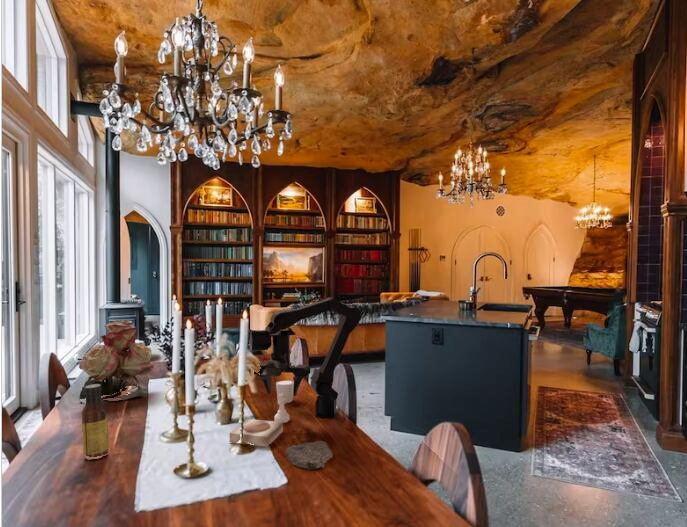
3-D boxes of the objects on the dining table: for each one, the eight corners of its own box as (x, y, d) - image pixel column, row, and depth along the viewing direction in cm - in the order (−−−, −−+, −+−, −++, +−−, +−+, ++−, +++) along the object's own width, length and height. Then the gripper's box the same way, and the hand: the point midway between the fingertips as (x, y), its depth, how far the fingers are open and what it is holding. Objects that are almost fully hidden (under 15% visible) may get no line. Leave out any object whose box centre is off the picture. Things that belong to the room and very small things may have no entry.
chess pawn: (271, 420, 155) (271, 393, 155) (285, 416, 158) (284, 390, 158) (278, 424, 151) (278, 397, 151) (292, 421, 154) (291, 394, 154)
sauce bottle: (114, 453, 130) (112, 383, 129) (95, 463, 124) (94, 389, 123) (96, 450, 132) (94, 381, 131) (77, 459, 126) (75, 387, 126)
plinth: (282, 431, 145) (282, 421, 145) (266, 447, 133) (266, 436, 133) (248, 428, 148) (247, 418, 148) (229, 443, 136) (229, 432, 136)
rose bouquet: (73, 408, 169) (71, 327, 169) (96, 386, 198) (95, 317, 197) (148, 402, 175) (146, 324, 175) (159, 381, 204) (158, 314, 203)
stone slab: (290, 475, 117) (289, 464, 117) (284, 448, 133) (284, 437, 133) (337, 470, 120) (337, 459, 119) (326, 444, 136) (326, 434, 136)
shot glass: (292, 403, 172) (292, 385, 172) (274, 403, 172) (274, 385, 172) (295, 397, 179) (294, 380, 179) (277, 397, 179) (277, 380, 179)
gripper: (244, 352, 148) (245, 400, 149) (298, 355, 144) (299, 404, 144) (259, 346, 159) (260, 390, 160) (310, 348, 154) (311, 394, 155)
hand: (282, 395), depth 154 cm, fingers open, 9 cm apart
